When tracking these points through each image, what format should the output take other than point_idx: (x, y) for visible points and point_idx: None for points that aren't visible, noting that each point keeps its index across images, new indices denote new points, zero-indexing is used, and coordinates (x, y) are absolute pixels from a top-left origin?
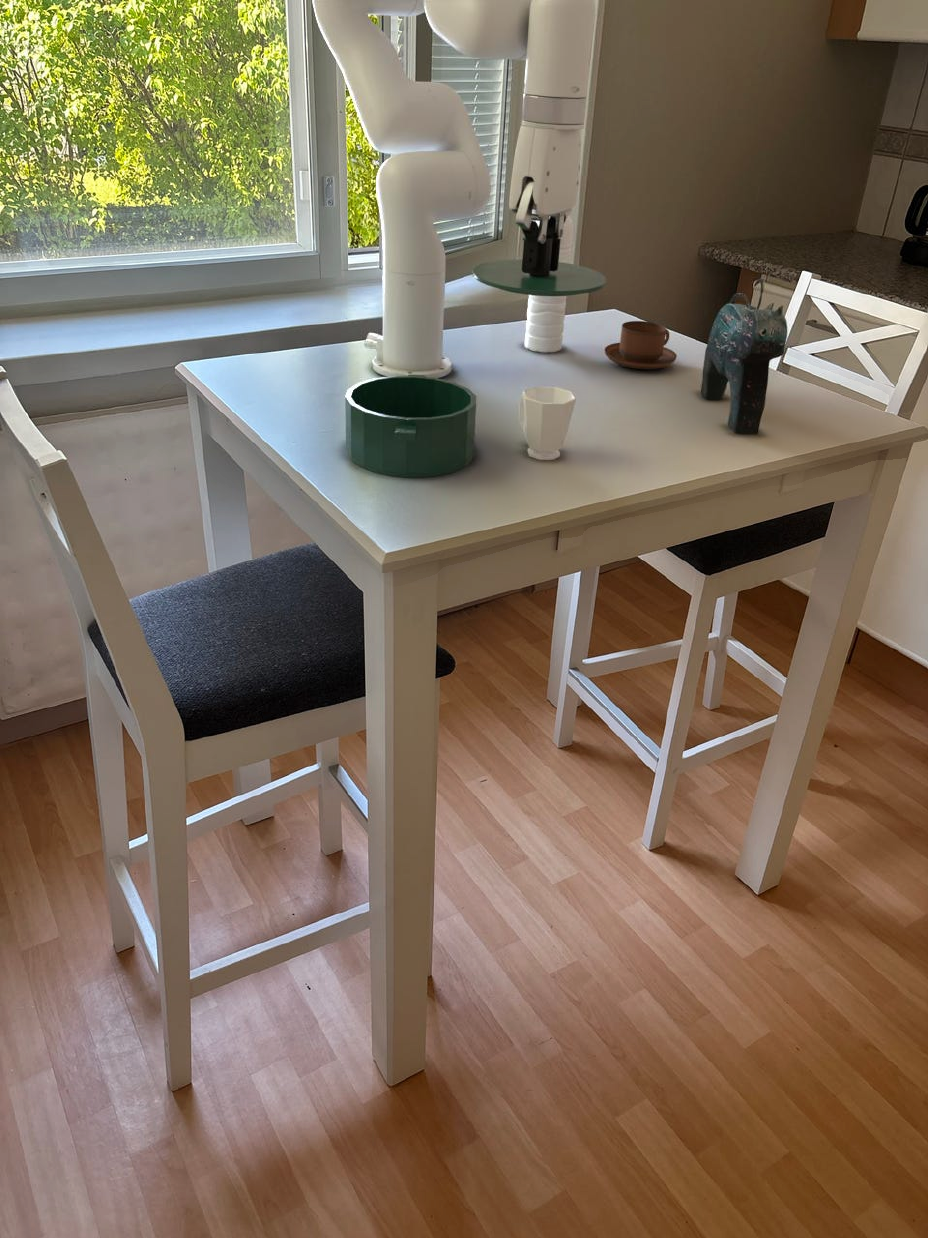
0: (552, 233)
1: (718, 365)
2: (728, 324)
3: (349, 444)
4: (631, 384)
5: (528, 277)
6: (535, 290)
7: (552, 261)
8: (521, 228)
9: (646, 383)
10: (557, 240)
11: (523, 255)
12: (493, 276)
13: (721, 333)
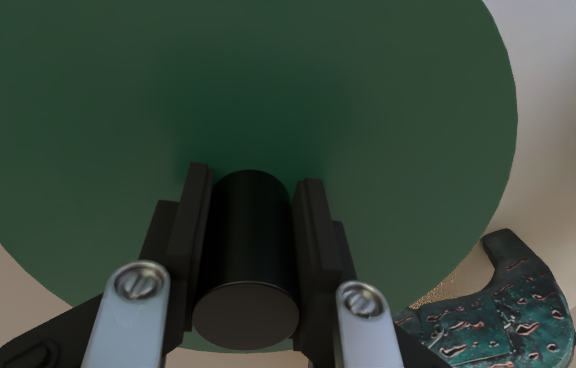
0: (305, 348)
1: (431, 310)
2: (476, 363)
3: None
4: (533, 138)
5: (169, 186)
6: (13, 256)
7: None
8: (9, 341)
9: (543, 156)
10: (294, 341)
11: (181, 201)
12: (59, 62)
13: (469, 344)
